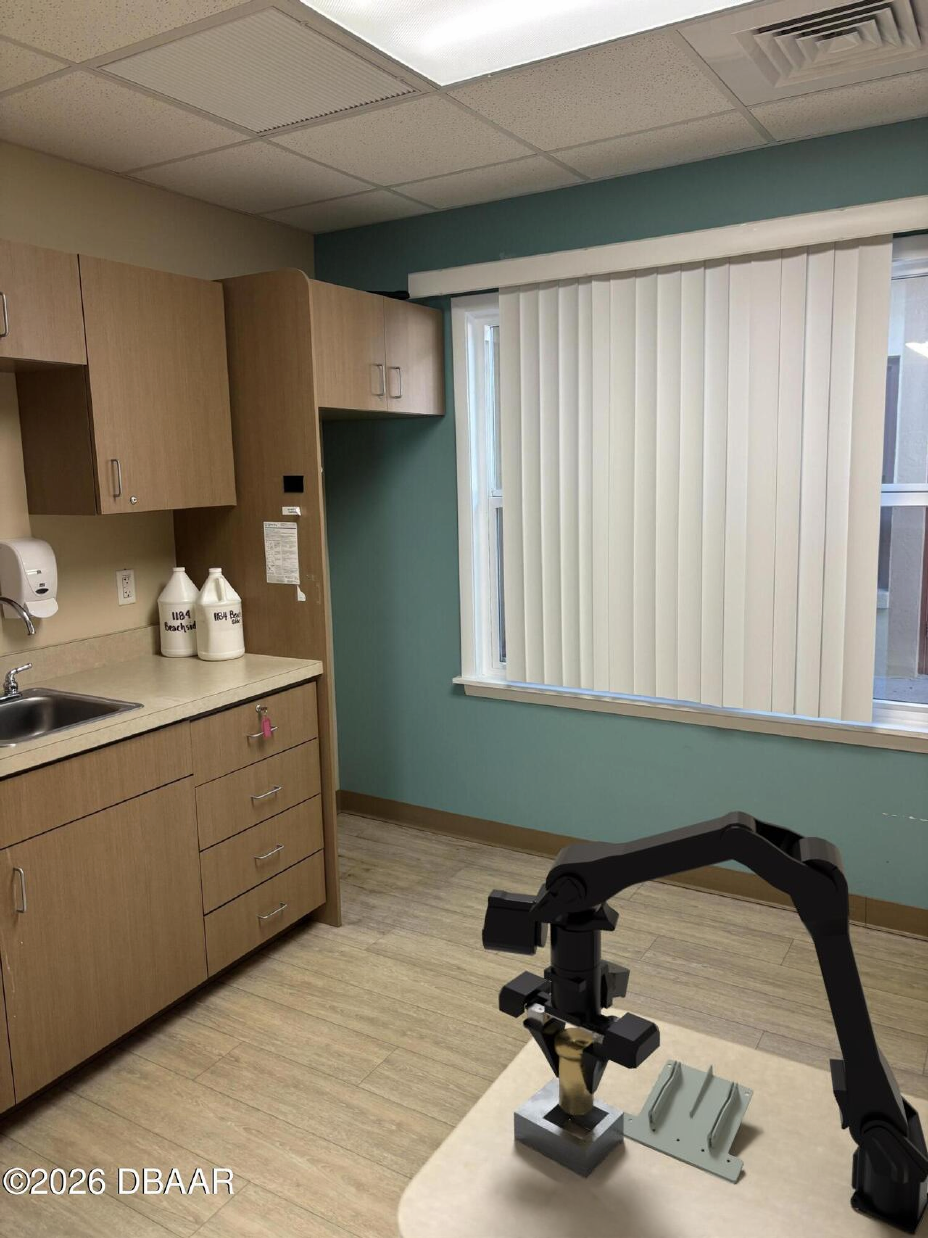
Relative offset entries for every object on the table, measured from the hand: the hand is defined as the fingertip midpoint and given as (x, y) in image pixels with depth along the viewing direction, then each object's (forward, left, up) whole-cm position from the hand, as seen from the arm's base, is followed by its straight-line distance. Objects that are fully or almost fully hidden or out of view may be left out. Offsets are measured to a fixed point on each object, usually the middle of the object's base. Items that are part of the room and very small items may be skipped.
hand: (576, 1084), depth 109 cm
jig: (0, 0, -8) cm, 8 cm away
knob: (0, 0, -3) cm, 2 cm away
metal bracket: (-9, -11, -8) cm, 17 cm away
